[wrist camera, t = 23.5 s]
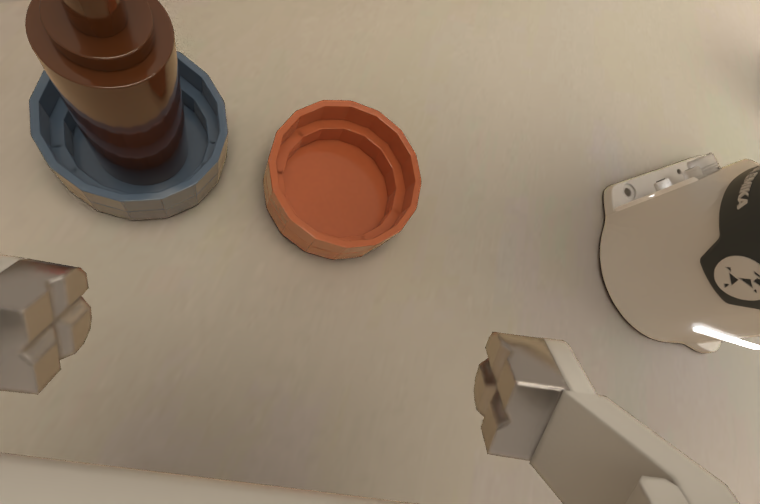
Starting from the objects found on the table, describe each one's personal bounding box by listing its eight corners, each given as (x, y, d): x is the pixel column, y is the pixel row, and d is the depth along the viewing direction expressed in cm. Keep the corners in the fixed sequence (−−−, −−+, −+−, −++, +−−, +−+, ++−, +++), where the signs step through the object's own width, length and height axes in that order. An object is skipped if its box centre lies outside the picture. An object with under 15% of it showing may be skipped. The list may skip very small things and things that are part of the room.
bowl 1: (179, 58, 36) (174, 18, 32) (253, 181, 36) (257, 157, 31) (22, 108, 32) (-8, 70, 27) (103, 249, 31) (86, 231, 27)
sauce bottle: (162, 94, 34) (114, -144, 18) (204, 165, 34) (193, -14, 18) (76, 124, 32) (-66, -119, 16) (120, 200, 32) (22, 32, 16)
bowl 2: (355, 109, 40) (371, 80, 36) (422, 221, 40) (446, 204, 35) (236, 160, 36) (238, 133, 31) (310, 285, 35) (323, 275, 31)
